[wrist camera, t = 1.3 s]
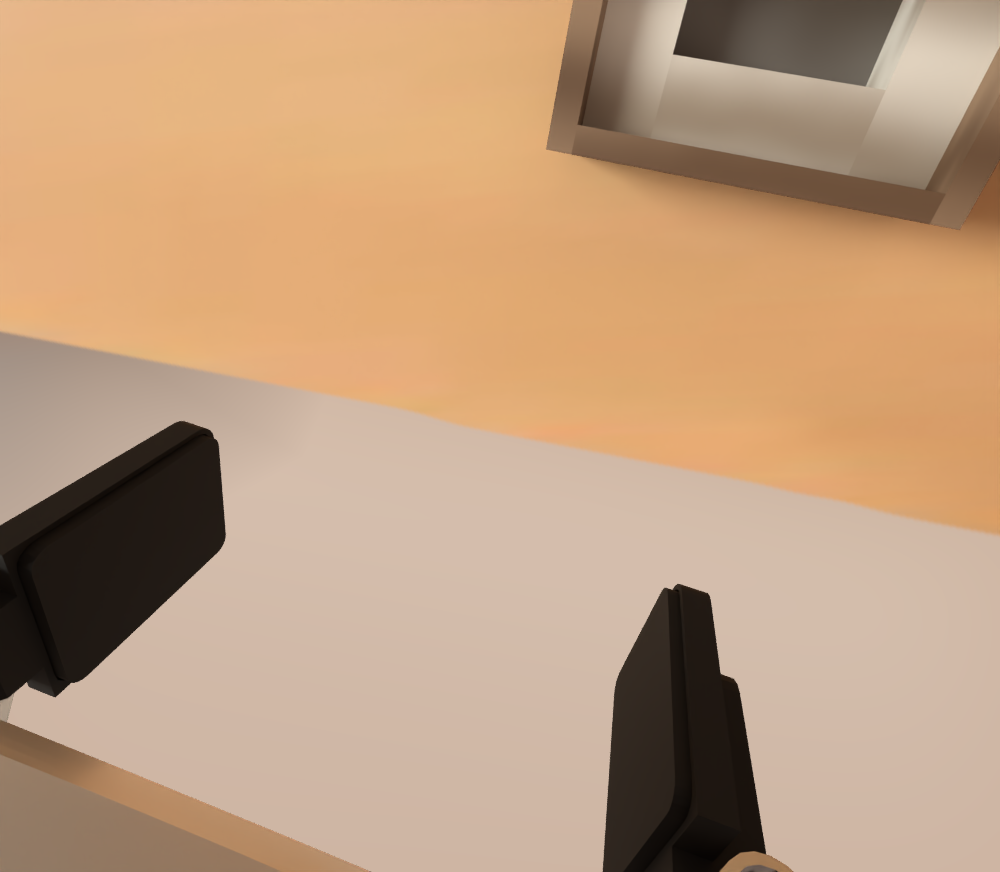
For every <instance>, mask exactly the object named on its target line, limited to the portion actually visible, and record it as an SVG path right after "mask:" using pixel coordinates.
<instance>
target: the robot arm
mask: <svg viewBox="0 0 1000 872" xmlns="http://www.w3.org/2000/svg"><path fill="white" fill-rule="evenodd" d="M219 456H220V455H219V445H218V442H217V440H216V439H214V437H213V433H212V432H211V431H210V430H208V429H206V428H203V427H200V426H197V425H194V424H191V423H188V422H185V421H179V422H176V423H174V424H172V425H171V426H169V427H167V428H166V429H164V430H162V431H160V432H159V433H157V434H155V435H154V436H152V437H150V438H149V439H147V440H145V441H143V442H142V443H140V444H138V445H137V446H135V447H134V448H131V449H130V450H128V451H126V452H125V453H123V454H121V455H120V456H118V457H116V458H114V459H113V460H111V461H109V462H108V463H106V464H104V465H102V466H101V467H99V468H97V469H96V470H94V471H92V472H91V473H89V474H87V475H86V476H84V477H82V478H80V479H79V480H77V481H75V482H74V483H72V484H70V485H68V486H67V487H65V488H63V489H62V490H60V491H58V492H57V493H55V494H53V495H51V496H50V497H48V498H46V499H45V500H43V501H41V502H40V503H38V504H36V505H34V506H33V507H31V508H29V509H28V510H26V511H24V512H22V513H21V514H19V515H18V516H16V517H14V518H12V519H10V520H9V521H7V522H5V523H4V524H2V525H0V872H370V871H368V870H365V869H363V868H361V867H359V866H356V865H354V864H351V863H349V862H347V861H344V860H342V859H339V858H337V857H335V856H332V855H330V854H327V853H325V852H323V851H320V850H318V849H315V848H313V847H311V846H308V845H306V844H303V843H301V842H299V841H296V840H294V839H291V838H289V837H286V836H284V835H281V834H279V833H277V832H274V831H272V830H269V829H267V828H265V827H262V826H260V825H257V824H255V823H252V822H250V821H248V820H245V819H243V818H240V817H238V816H235V815H233V814H231V813H228V812H226V811H223V810H221V809H218V808H216V807H214V806H211V805H209V804H206V803H204V802H201V801H199V800H197V799H194V798H192V797H189V796H187V795H184V794H182V793H180V792H177V791H175V790H172V789H170V788H167V787H164V786H162V785H160V784H158V783H155V782H152V781H150V780H148V779H145V778H143V777H140V776H138V775H135V774H133V773H131V772H128V771H126V770H123V769H121V768H118V767H116V766H113V765H111V764H108V763H106V762H103V761H101V760H98V759H96V758H94V757H91V756H89V755H86V754H84V753H81V752H79V751H76V750H74V749H71V748H69V747H66V746H64V745H62V744H59V743H56V742H54V741H52V740H49V739H47V738H44V737H42V736H39V735H37V734H34V733H32V732H29V731H27V730H24V729H22V728H19V727H17V726H15V725H12V724H10V723H7V720H8V716H9V712H10V708H11V704H12V700H13V695H14V693H15V692H16V691H17V690H18V689H19V688H20V687H22V686H23V685H24V684H25V683H26V682H27V683H28V686H29V687H30V688H33V689H36V690H38V691H40V692H43V693H45V694H48V695H50V696H53V697H56V696H57V695H59V694H60V693H61V692H62V691H63V690H64V689H65V688H66V687H67V686H68V685H69V684H70V683H75V682H78V681H80V680H82V679H84V678H85V677H86V676H87V675H88V674H89V673H91V672H92V671H93V669H95V668H96V667H97V666H98V665H99V664H100V663H101V662H102V661H103V660H104V659H105V658H106V657H107V656H109V655H110V654H111V653H112V652H113V651H114V650H115V649H116V648H117V647H118V646H119V645H120V644H121V643H122V642H123V641H124V640H125V639H127V638H128V637H129V636H130V635H131V634H132V633H133V632H134V631H135V630H136V629H137V628H138V627H139V626H140V625H141V624H142V623H143V622H145V621H146V620H147V619H148V618H149V617H150V616H151V615H152V614H153V613H154V612H155V611H156V610H157V609H158V608H159V607H160V606H161V605H162V604H164V602H166V601H167V600H168V599H169V598H170V597H171V596H172V595H173V594H174V593H175V592H176V591H177V590H178V589H179V588H180V587H182V586H183V584H185V583H186V582H187V581H188V580H189V579H190V578H191V577H192V576H193V575H194V574H195V573H196V572H197V571H199V570H200V569H201V568H202V567H203V566H204V565H205V564H206V563H207V562H208V561H209V560H210V559H211V558H212V557H213V556H214V555H215V554H217V553H218V551H219V550H220V549H221V547H222V546H223V544H224V541H225V535H226V533H225V520H224V507H223V494H222V482H221V470H220V457H219ZM603 872H793V871H792V870H791V869H790V868H789V867H788V866H786V865H785V864H783V863H782V862H780V861H778V860H777V859H775V858H773V857H772V856H769V855H766V850H765V844H764V838H763V832H762V826H761V819H760V813H759V807H758V802H757V795H756V789H755V783H754V777H753V771H752V765H751V759H750V752H749V746H748V740H747V735H746V728H745V722H744V716H743V709H742V703H741V698H740V692H739V689H738V685H737V683H736V682H735V680H734V679H732V678H730V677H727V676H724V675H722V674H721V673H720V667H719V658H718V651H717V643H716V636H715V628H714V621H713V614H712V607H711V599H710V596H709V594H708V593H705V592H702V591H699V590H696V589H693V588H690V587H687V586H684V585H681V584H677V585H676V586H675V587H674V588H673V590H671V589H668V588H664V589H663V590H662V592H661V594H660V596H659V598H658V599H657V601H656V604H655V605H654V607H653V609H652V611H651V613H650V615H649V617H648V619H647V621H646V623H645V625H644V627H643V628H642V630H641V632H640V634H639V636H638V638H637V640H636V642H635V644H634V646H633V648H632V650H631V652H630V653H629V655H628V657H627V659H626V661H625V663H624V665H623V667H622V669H621V671H620V673H619V676H618V678H617V681H616V686H615V693H614V707H613V722H612V738H611V754H610V769H609V785H608V799H607V814H606V831H605V846H604V861H603Z"/></svg>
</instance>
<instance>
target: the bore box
mask: <svg viewBox="0 0 1000 872" xmlns="http://www.w3.org/2000/svg"><path fill="white" fill-rule="evenodd" d="M546 150H552V151H557V152H562V153H567V154H572V155H577V156H582V157H587V158H593V159H598V160H603V161H608V162H613V163H618V164H623V165H628V166H634V167H639V168H644V169H649V170H654V171H659V172H664V173H669V174H675V175H680V176H685V177H690V178H695V179H700V180H705V181H710V182H716V183H721V184H726V185H731V186H736V187H741V188H746V189H751V190H757V191H762V192H767V193H772V194H777V195H782V196H787V197H792V198H798V199H803V200H808V201H813V202H818V203H823V204H828V205H833V206H839V207H844V208H849V209H854V210H859V211H864V212H869V213H875V214H880V215H885V216H890V217H895V218H900V219H905V220H910V221H916V222H921V223H926V224H931V225H936V226H941V227H946V228H951V229H957V230H960V229H961V227H962V225H963V223H964V222H965V220H966V218H967V216H968V215H969V213H970V211H971V209H972V208H973V206H974V204H975V202H976V201H977V199H978V197H979V195H980V194H981V192H982V190H983V188H984V187H985V185H986V183H987V181H988V180H989V178H990V176H991V174H992V173H993V171H994V169H995V167H996V166H997V164H998V162H999V160H1000V0H573V4H572V10H571V15H570V21H569V26H568V32H567V37H566V43H565V48H564V54H563V59H562V65H561V70H560V76H559V81H558V87H557V92H556V98H555V103H554V109H553V114H552V120H551V125H550V131H549V136H548V142H547V147H546Z"/></svg>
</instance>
